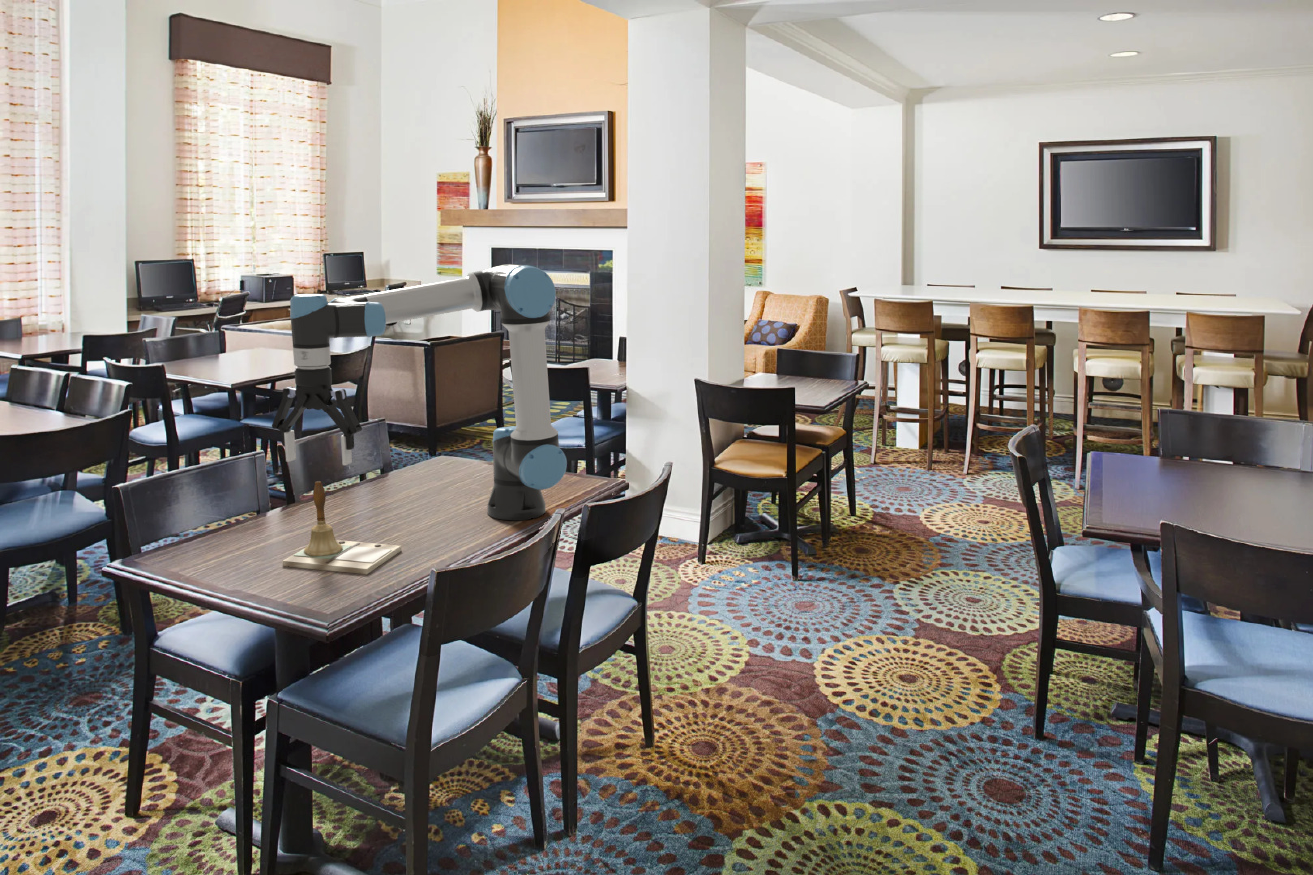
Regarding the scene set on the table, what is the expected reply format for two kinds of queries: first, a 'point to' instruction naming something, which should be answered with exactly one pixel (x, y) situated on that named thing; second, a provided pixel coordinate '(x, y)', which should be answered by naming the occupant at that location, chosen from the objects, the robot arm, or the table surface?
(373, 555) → the slot board
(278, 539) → the table surface
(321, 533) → the hand bell
